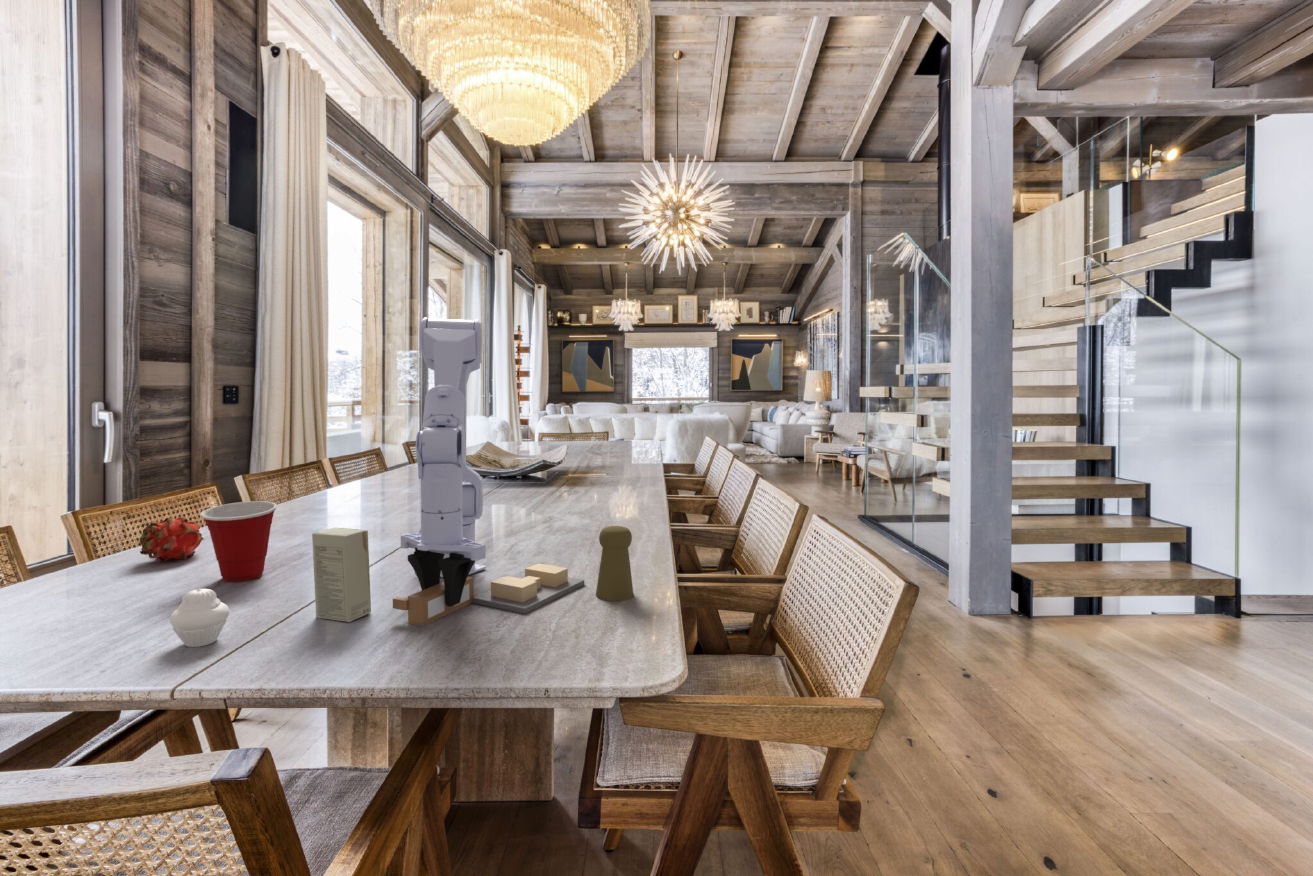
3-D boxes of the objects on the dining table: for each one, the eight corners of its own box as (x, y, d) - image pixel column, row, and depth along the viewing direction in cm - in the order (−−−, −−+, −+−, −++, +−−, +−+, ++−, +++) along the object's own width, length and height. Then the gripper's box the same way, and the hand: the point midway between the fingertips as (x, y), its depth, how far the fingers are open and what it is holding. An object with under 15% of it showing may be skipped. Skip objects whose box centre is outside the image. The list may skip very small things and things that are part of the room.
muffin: (164, 655, 78) (161, 598, 77) (178, 637, 83) (176, 583, 83) (225, 647, 80) (223, 592, 80) (234, 630, 86) (233, 578, 85)
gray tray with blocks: (471, 602, 98) (471, 583, 98) (535, 576, 113) (535, 559, 113) (524, 613, 94) (524, 593, 94) (584, 584, 108) (584, 567, 108)
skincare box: (372, 613, 93) (371, 529, 92) (349, 623, 89) (347, 536, 88) (337, 607, 95) (335, 525, 94) (312, 617, 91) (311, 531, 90)
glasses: (393, 623, 90) (392, 594, 90) (449, 597, 101) (449, 572, 101) (421, 628, 88) (420, 599, 88) (475, 602, 99) (475, 576, 99)
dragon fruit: (137, 577, 113) (193, 568, 125) (175, 550, 112) (228, 544, 124) (115, 536, 114) (173, 531, 126) (152, 509, 113) (207, 507, 125)
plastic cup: (185, 585, 104) (182, 511, 103) (237, 566, 115) (235, 499, 114) (247, 589, 103) (244, 514, 102) (293, 570, 114) (291, 502, 113)
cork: (628, 602, 100) (629, 532, 99) (590, 599, 101) (591, 529, 100) (637, 590, 106) (638, 524, 105) (601, 587, 107) (602, 522, 106)
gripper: (383, 509, 93) (384, 601, 94) (460, 520, 86) (460, 619, 88) (421, 501, 99) (421, 588, 100) (495, 511, 93) (495, 603, 94)
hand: (442, 602), depth 94 cm, fingers open, 4 cm apart
